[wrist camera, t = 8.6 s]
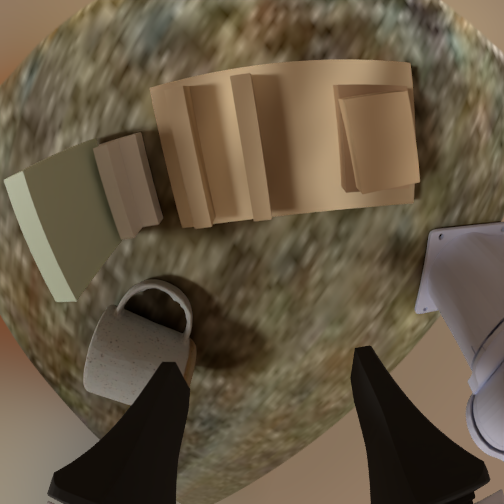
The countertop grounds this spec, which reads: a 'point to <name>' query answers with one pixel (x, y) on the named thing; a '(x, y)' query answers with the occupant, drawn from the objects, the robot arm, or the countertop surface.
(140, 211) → the stand
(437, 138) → the countertop surface
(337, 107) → the offcut low
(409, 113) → the offcut top
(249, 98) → the rack
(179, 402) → the robot arm
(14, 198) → the pale green square slab
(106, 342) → the ceramic mug
